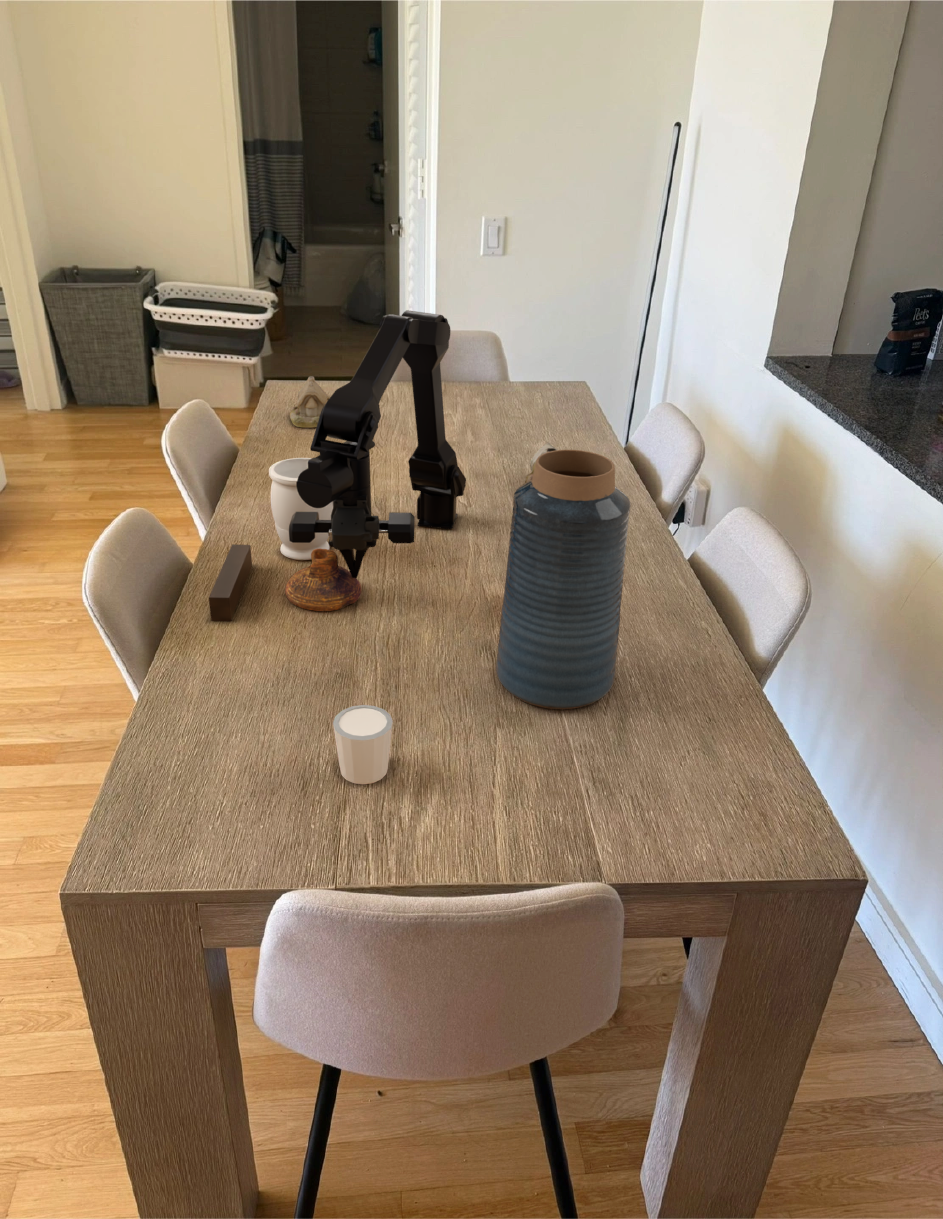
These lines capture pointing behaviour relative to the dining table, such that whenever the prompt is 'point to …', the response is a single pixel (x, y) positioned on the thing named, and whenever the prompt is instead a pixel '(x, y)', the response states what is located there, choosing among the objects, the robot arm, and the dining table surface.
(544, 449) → the ceramic sculpture
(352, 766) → the white cup
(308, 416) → the ceramic model
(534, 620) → the vase
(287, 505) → the jar
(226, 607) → the bar
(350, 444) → the robot arm
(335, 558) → the brown clay pot
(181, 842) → the dining table surface
